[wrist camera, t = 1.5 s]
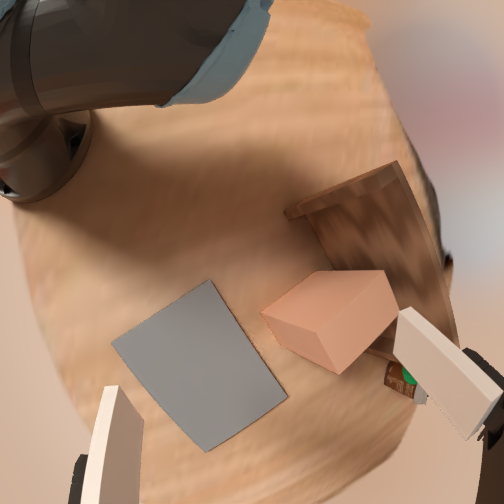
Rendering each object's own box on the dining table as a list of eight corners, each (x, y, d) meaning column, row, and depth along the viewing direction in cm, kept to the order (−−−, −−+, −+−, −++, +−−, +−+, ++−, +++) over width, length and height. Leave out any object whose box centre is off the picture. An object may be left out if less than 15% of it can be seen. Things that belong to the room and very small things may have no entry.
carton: (260, 312, 33) (315, 332, 21) (316, 270, 36) (383, 270, 24) (280, 344, 33) (338, 374, 22) (332, 302, 36) (400, 312, 25)
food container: (421, 327, 43) (466, 334, 33) (422, 357, 43) (464, 367, 34) (376, 356, 39) (425, 370, 29) (377, 388, 39) (423, 406, 29)
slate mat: (111, 342, 27) (110, 343, 26) (208, 279, 31) (209, 279, 30) (204, 450, 29) (205, 452, 28) (285, 395, 33) (287, 396, 33)
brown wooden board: (283, 211, 34) (375, 174, 19) (304, 199, 36) (396, 160, 21) (355, 349, 37) (446, 376, 22) (371, 333, 38) (460, 353, 23)
